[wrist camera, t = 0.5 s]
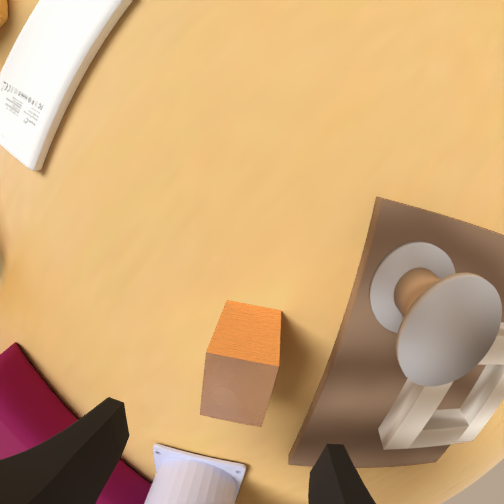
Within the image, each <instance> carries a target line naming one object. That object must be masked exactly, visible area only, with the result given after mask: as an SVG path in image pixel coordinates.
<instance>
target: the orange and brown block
mask: <svg viewBox="0 0 504 504" xmlns="http://www.w3.org/2000/svg"><path fill="white" fill-rule="evenodd" d="M280 333H281V310H276V309H270V308H265V307H260V306H254V305H249V304H244V303H239V302H234V301H229V300H227V301H226V304H225V306H224V309H223V311H222V314H221V316H220V319H219V321H218V324H217V326H216V329H215V331H214V334H213V336H212V339H211V341H210V344H209V346H208V349H207V351H206V359H205V368H204V378H203V388H202V398H201V408H200V415H204V416H208V417H212V418H217V419H222V420H226V421H231V422H237V423H242V424H247V425H253V426H259V427H261V426H262V423H263V420H264V416H265V413H266V410H267V407H268V403H269V400H270V396H271V393H272V390H273V386H274V383H275V379H276V376H277V372H278V369H279V359H280Z"/></svg>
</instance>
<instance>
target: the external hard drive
mask: <svg viewBox="0 0 504 504" xmlns="http://www.w3.org/2000/svg"><path fill="white" fill-rule="evenodd" d="M132 1H133V0H40V1H39V3H38V4H37V6H36V7H35V9H34V10H33V12H32V14H31V15H30V17H29V19H28V20H27V22H26V24H25V25H24V27H23V29H22V31H21V33H20V34H19V36H18V38H17V40H16V42H15V44H14V46H13V48H12V50H11V52H10V54H9V56H8V58H7V60H6V62H5V64H4V67H3V69H2V71H1V73H0V145H1V146H2V147H4V148H5V149H6V150H7V151H8V152H9V153H11V154H12V155H13V156H14V157H15V158H17V159H18V160H19V161H20V162H21V163H22V164H24V165H25V166H26V167H27V168H29V169H31V170H32V171H38V170H41V169H42V166H43V164H44V161H45V158H46V155H47V153H48V150H49V148H50V145H51V143H52V140H53V138H54V136H55V133H56V131H57V129H58V126H59V124H60V122H61V120H62V117H63V115H64V113H65V111H66V109H67V107H68V105H69V103H70V101H71V99H72V97H73V95H74V93H75V91H76V89H77V87H78V85H79V83H80V81H81V80H82V78H83V76H84V74H85V72H86V71H87V69H88V67H89V65H90V64H91V62H92V60H93V59H94V57H95V55H96V54H97V52H98V50H99V49H100V47H101V46H102V44H103V42H104V41H105V39H106V38H107V36H108V35H109V33H110V32H111V30H112V29H113V27H114V26H115V24H116V23H117V22H118V20H119V19H120V17H121V16H122V15H123V13H124V12H125V11H126V9H127V8H128V6H129V5H130V4H131V3H132Z"/></svg>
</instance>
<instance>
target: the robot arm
mask: <svg viewBox="0 0 504 504" xmlns="http://www.w3.org/2000/svg"><path fill="white" fill-rule="evenodd" d="M128 438H129V431H128V425H127V420H126V413H125V407H124V403H123V402H121V401H118V400H115V399H112V398H110V397H109V398H107V399H105V400H104V401H103V402H101V403H100V404H99V405H98V406H96V407H95V408H94V409H92V410H91V411H90V412H88V413H87V414H86V415H84V416H83V417H82V418H80V419H79V420H77V421H76V422H75V423H73V424H72V425H70V426H69V427H67V428H66V429H64V430H63V431H61V432H59V433H58V434H56V435H54V436H53V437H51V438H49V439H48V440H46V441H44V442H42V443H40V444H39V445H37V446H35V447H32V448H30V449H28V450H26V451H23V452H21V453H18V454H16V455H13V456H10V457H7V458H4V459H1V460H0V504H95V503H96V501H97V499H98V497H99V495H100V494H101V492H102V490H103V488H104V486H105V485H106V483H107V481H108V479H109V478H110V476H111V474H112V472H113V471H114V469H115V467H116V465H117V463H118V462H119V460H120V458H121V456H122V453H123V451H124V448H125V446H126V443H127V440H128ZM153 454H154V462H155V470H156V475H155V478H154V480H153V483H152V485H151V488H150V490H149V493H148V495H147V498H146V500H145V503H144V504H234V503H235V500H236V497H237V494H238V492H239V489H240V486H241V483H242V480H243V477H244V474H245V471H246V466H245V465H244V464H241V463H235V462H230V461H225V460H220V459H215V458H210V457H206V456H201V455H197V454H193V453H189V452H185V451H181V450H178V449H174V448H171V447H167V446H164V445H160V444H154V446H153ZM308 499H309V504H376V503H375V502H374V500H373V498H372V497H371V495H370V494H369V492H368V490H367V488H366V487H365V485H364V483H363V481H362V480H361V478H360V476H359V474H358V472H357V470H356V468H355V466H354V464H353V462H352V460H351V458H350V456H349V454H348V452H347V450H346V448H345V446H344V445H343V444H326V446H325V448H324V450H323V451H322V453H321V455H320V457H319V458H318V460H317V462H316V463H315V465H314V467H313V468H312V470H311V472H310V479H309V494H308Z"/></svg>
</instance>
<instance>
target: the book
mask: <svg viewBox="0 0 504 504" xmlns="http://www.w3.org/2000/svg"><path fill="white" fill-rule="evenodd" d="M77 420H78V419H77V418H76V417H75V416H74V414H73V413H72V412H71V411H70V410H69V409H68V408H67V407H66V406H65V405H64V404H63V402H62V401H61V400H60V399H59V398H58V397H57V396H56V394H55V393H54V392H53V391H52V390H51V389H50V387H49V386H48V385H47V384H46V383H45V381H44V380H43V379H42V378H41V376H40V375H39V374H38V373H37V371H36V370H35V369H34V367H33V366H32V365H31V363H30V362H29V361H28V359H27V358H26V357H25V355H24V354H23V352H22V351H21V350H20V348H19V347H18V345H17V344H16V342H15V343H14V344H13V345H11V346H10V347H9V348H8V349H6V350H5V351H4V352H3V353H2V354H0V460H1V459H4V458H7V457H10V456H13V455H16V454H18V453H21V452H23V451H26V450H28V449H30V448H32V447H35V446H37V445H39V444H40V443H42V442H44V441H46V440H48V439H49V438H51V437H53V436H54V435H56V434H58V433H59V432H61V431H63V430H64V429H66V428H67V427H69V426H70V425H72V424H73V423H75V422H76V421H77ZM151 485H152V484H151V483H150V482H148V481H147V480H146V479H144V478H143V477H142V476H141V475H139V474H138V473H137V472H135V471H134V470H133V469H132V468H131V467H129V466H128V465H127V464H126V463H124V462H123V461H122V460H121V459H120V460H119V462H118V463H117V465H116V467H115V469H114V471H113V472H112V474H111V476H110V478H109V479H108V481H107V483H106V485H105V486H104V488H103V490H102V492H101V494H100V495H99V497H98V499H97V501H96V503H95V504H144V503H145V500H146V498H147V495H148V493H149V490H150V488H151Z"/></svg>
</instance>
